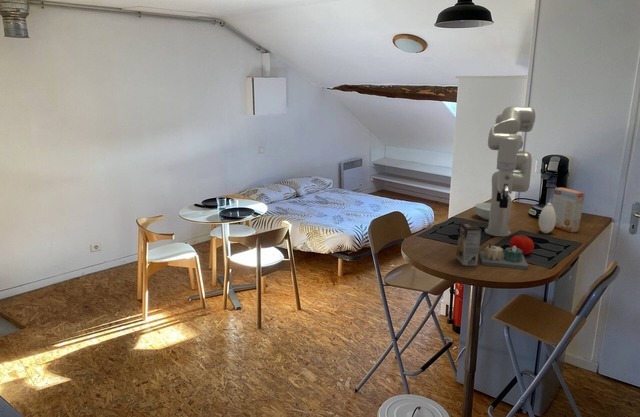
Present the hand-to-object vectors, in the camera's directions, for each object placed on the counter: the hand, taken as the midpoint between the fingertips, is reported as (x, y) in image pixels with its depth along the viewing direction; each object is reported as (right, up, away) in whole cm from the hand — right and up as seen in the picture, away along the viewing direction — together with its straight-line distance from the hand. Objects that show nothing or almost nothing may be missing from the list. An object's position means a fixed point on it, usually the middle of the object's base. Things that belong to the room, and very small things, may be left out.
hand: (501, 204), depth 216 cm
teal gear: (+3, -23, -5) cm, 24 cm away
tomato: (+11, -22, +7) cm, 26 cm away
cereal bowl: (+16, -8, +62) cm, 65 cm away
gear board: (-1, -24, -3) cm, 24 cm away
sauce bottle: (+36, -14, +38) cm, 54 cm away
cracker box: (+49, -13, +46) cm, 69 cm away
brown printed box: (-17, -24, -5) cm, 30 cm away
